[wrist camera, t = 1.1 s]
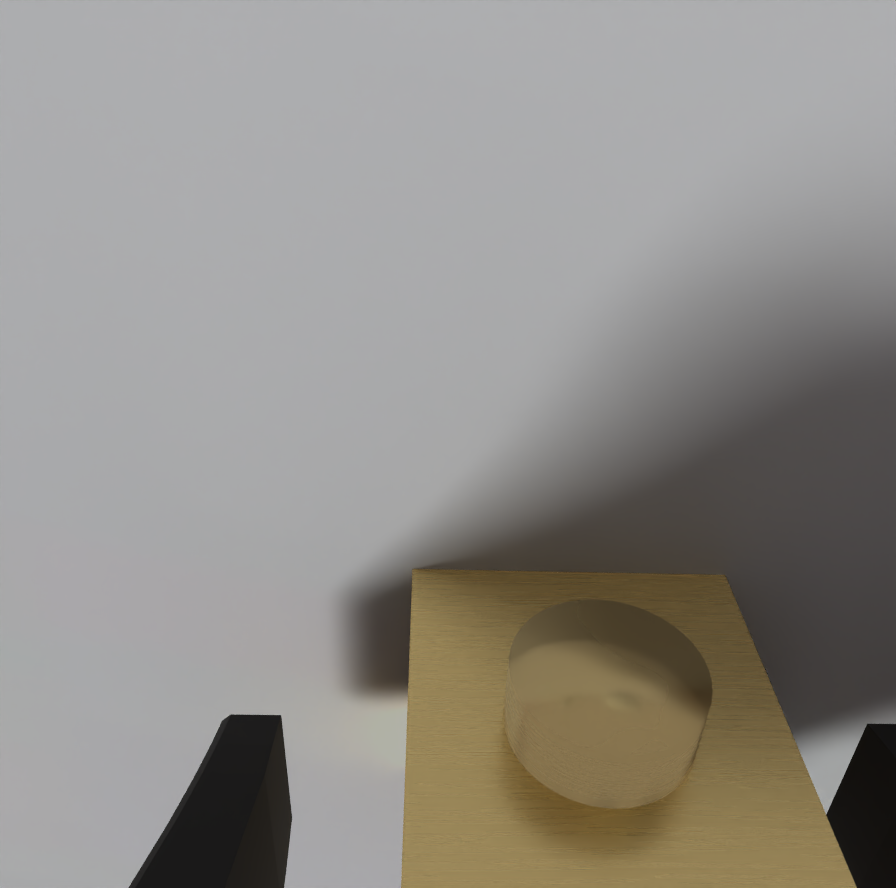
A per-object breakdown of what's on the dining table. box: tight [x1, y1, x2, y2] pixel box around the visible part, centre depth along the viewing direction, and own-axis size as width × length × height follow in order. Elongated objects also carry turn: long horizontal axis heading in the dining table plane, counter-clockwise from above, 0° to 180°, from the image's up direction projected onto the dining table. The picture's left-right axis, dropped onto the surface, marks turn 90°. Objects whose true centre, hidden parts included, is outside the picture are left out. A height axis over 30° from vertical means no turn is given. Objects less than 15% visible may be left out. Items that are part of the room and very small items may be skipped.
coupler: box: [401, 569, 857, 888], centre depth 10 cm, size 6×4×5 cm
